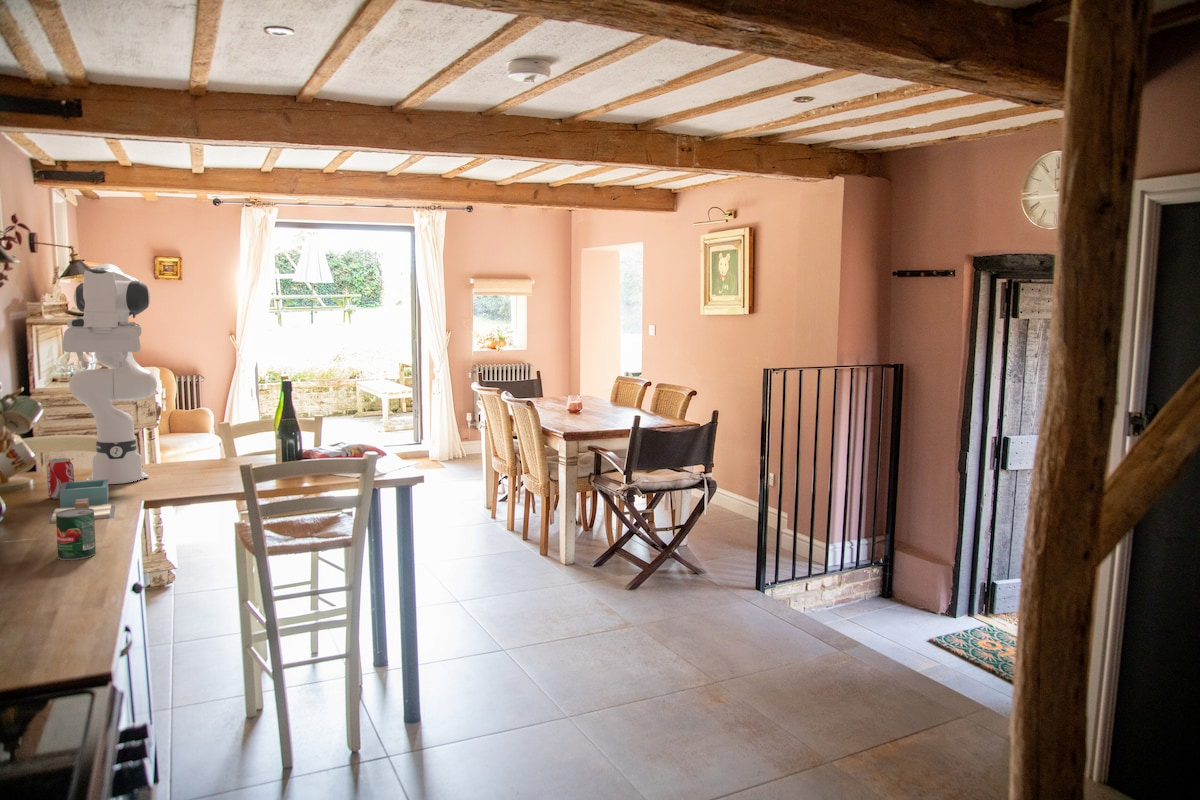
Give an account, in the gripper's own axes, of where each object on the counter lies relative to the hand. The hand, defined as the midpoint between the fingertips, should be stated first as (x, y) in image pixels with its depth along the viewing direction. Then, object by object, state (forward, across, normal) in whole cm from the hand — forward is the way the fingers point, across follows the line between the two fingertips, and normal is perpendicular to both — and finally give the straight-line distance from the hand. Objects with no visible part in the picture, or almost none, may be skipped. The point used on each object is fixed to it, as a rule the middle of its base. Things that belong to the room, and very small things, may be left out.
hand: (103, 367), depth 245 cm
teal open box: (+42, +6, -2) cm, 43 cm away
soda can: (+42, +13, -15) cm, 47 cm away
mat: (+42, +6, +14) cm, 45 cm away
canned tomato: (+44, +6, +57) cm, 72 cm away
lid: (+42, +6, +14) cm, 45 cm away
